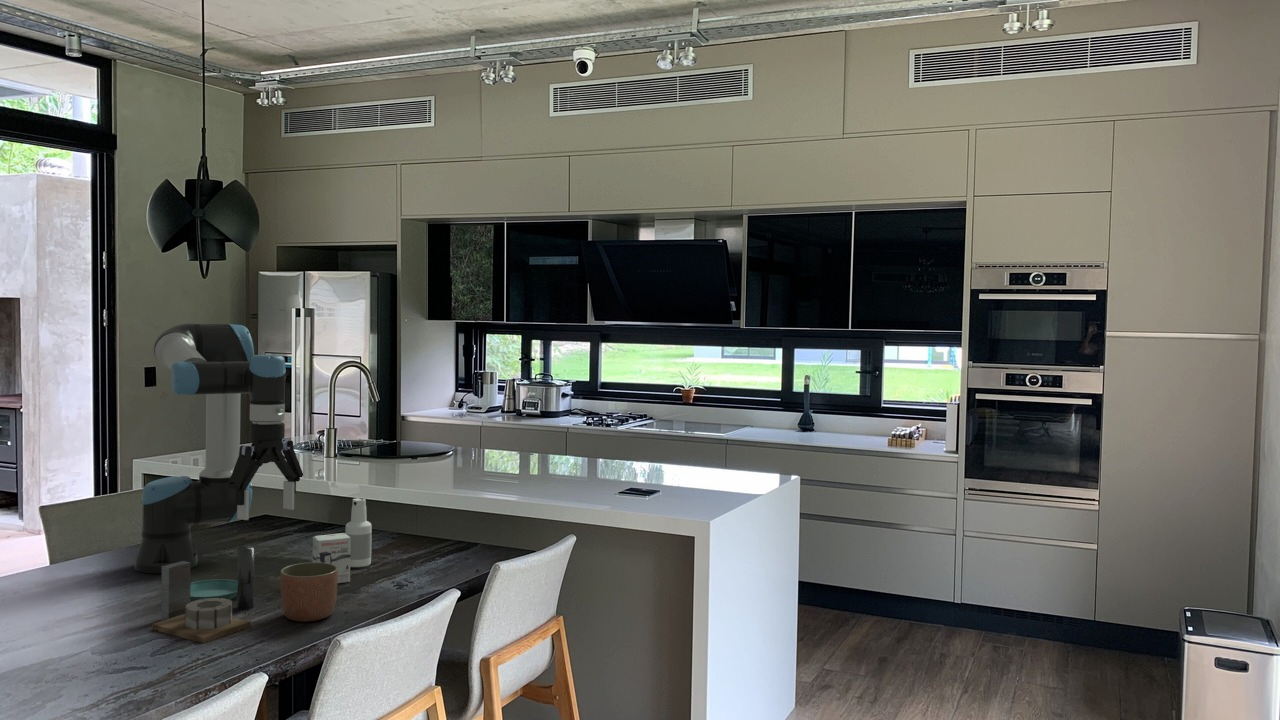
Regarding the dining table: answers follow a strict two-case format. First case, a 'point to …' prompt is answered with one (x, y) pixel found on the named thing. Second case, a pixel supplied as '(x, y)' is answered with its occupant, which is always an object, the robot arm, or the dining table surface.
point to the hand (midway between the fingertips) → (266, 514)
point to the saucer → (213, 589)
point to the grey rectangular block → (175, 589)
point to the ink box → (334, 553)
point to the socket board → (198, 634)
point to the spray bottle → (359, 535)
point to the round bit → (245, 578)
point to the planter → (308, 591)
